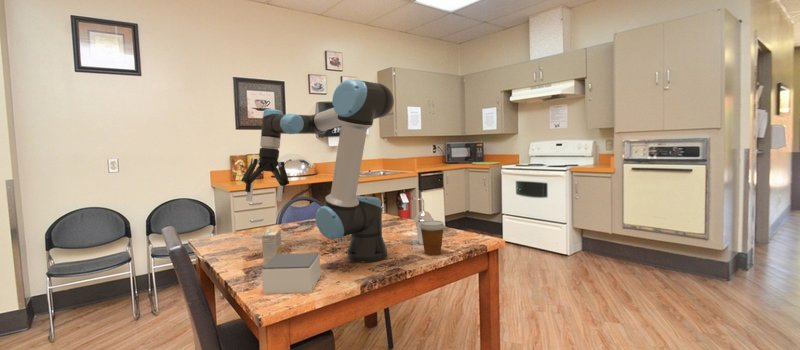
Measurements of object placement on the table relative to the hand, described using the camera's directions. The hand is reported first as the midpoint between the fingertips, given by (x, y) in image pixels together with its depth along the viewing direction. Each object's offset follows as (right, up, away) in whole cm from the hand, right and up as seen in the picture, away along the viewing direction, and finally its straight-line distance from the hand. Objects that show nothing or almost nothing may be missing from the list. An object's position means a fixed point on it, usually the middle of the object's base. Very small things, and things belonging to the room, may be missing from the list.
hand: (264, 201), depth 155 cm
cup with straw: (+64, -19, +10) cm, 68 cm away
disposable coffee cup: (+67, -20, -5) cm, 70 cm away
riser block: (+21, -24, -35) cm, 47 cm away
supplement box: (+10, -23, -19) cm, 31 cm away
